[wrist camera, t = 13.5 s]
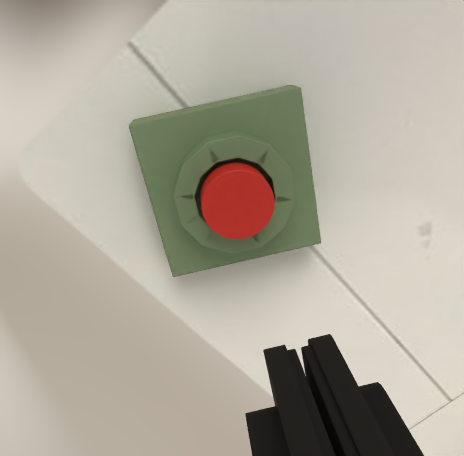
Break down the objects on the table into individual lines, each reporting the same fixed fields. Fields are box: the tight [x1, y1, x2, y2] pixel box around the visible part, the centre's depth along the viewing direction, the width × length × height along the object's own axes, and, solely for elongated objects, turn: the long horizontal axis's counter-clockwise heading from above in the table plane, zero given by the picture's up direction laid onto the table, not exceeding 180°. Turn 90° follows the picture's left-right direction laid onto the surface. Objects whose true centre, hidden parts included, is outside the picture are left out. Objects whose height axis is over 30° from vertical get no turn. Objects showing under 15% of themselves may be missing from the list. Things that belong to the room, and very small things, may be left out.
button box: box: [129, 85, 321, 277], centre depth 26 cm, size 10×10×4 cm
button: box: [200, 162, 275, 239], centre depth 24 cm, size 4×4×2 cm
